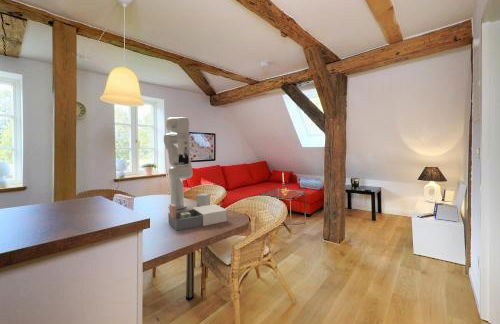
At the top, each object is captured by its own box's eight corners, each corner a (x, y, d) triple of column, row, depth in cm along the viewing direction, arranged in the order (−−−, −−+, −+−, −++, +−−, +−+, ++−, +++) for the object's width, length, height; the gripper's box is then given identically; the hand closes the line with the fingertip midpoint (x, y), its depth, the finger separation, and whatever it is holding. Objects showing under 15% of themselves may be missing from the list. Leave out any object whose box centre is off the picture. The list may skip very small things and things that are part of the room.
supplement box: (210, 210, 178) (210, 193, 176) (206, 213, 170) (205, 195, 169) (201, 209, 180) (201, 193, 178) (196, 212, 172) (196, 195, 171)
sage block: (188, 221, 151) (188, 211, 151) (190, 223, 147) (190, 213, 147) (180, 222, 149) (180, 212, 148) (182, 224, 145) (182, 215, 144)
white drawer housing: (192, 218, 160) (192, 207, 159) (214, 214, 169) (214, 204, 168) (203, 226, 145) (203, 214, 144) (227, 221, 154) (227, 210, 154)
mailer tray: (167, 222, 150) (167, 202, 149) (196, 217, 160) (195, 198, 159) (175, 230, 137) (175, 208, 136) (206, 224, 147) (206, 203, 146)
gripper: (193, 136, 151) (194, 164, 153) (184, 137, 166) (184, 162, 167) (181, 136, 147) (182, 164, 149) (173, 136, 162) (173, 162, 163)
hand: (183, 163), depth 158 cm, fingers open, 9 cm apart
